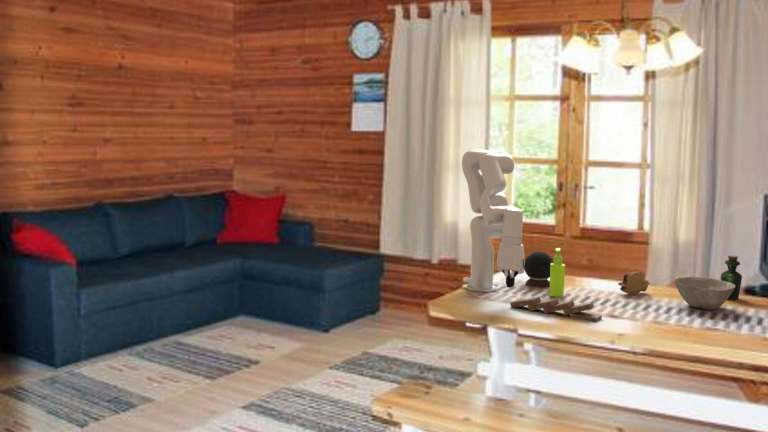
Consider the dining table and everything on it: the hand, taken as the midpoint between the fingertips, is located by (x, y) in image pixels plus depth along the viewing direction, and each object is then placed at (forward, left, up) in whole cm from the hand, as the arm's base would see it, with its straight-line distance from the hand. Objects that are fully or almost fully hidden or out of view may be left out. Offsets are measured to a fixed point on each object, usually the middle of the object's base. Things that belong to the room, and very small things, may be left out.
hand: (510, 286), depth 292 cm
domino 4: (+23, 0, -6) cm, 24 cm away
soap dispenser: (+8, +28, -8) cm, 30 cm away
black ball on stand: (-6, +43, -8) cm, 44 cm away
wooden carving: (+34, +51, -8) cm, 62 cm away
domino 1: (+2, 0, -6) cm, 7 cm away
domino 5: (+26, 0, -7) cm, 27 cm away
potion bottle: (+68, +69, -8) cm, 98 cm away
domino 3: (+16, 0, -6) cm, 17 cm away
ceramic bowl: (+62, +45, -8) cm, 77 cm away
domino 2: (+9, 0, -6) cm, 11 cm away
